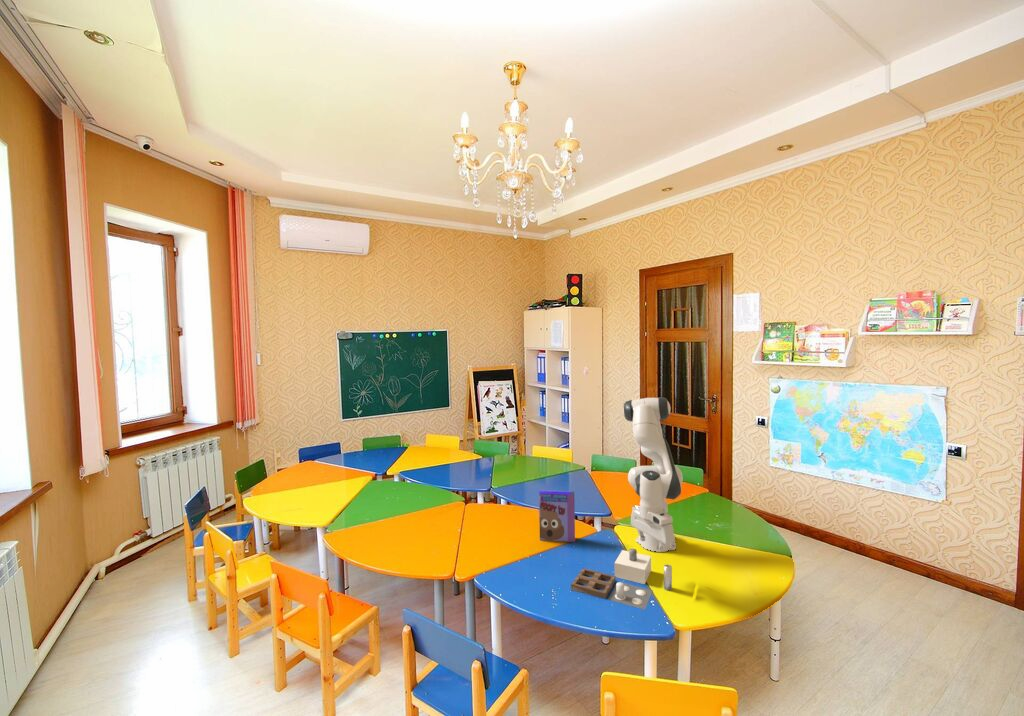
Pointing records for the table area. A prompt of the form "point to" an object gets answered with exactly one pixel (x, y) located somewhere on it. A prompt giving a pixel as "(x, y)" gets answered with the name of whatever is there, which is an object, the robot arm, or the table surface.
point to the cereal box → (557, 516)
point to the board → (631, 595)
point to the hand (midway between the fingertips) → (651, 545)
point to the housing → (633, 566)
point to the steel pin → (668, 577)
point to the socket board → (593, 583)
